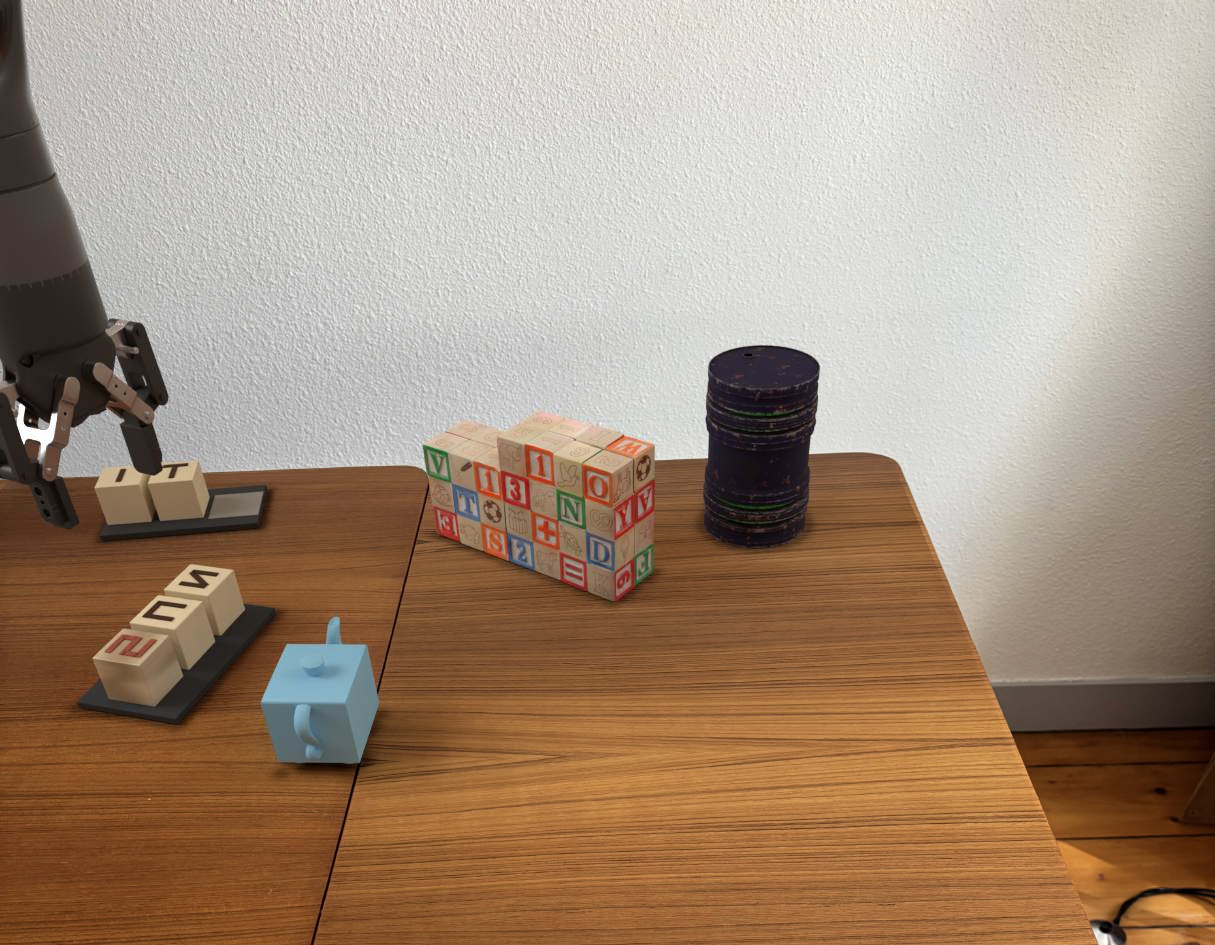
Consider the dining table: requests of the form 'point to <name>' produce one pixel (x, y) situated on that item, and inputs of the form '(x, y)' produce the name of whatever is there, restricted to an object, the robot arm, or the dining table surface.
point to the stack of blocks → (549, 498)
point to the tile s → (138, 667)
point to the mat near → (191, 639)
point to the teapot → (321, 701)
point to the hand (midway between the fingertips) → (109, 498)
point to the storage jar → (759, 444)
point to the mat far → (173, 503)
